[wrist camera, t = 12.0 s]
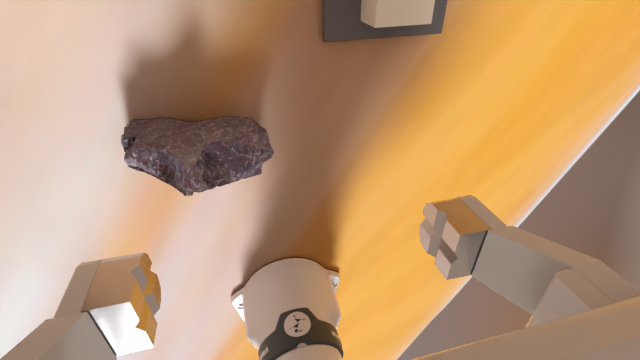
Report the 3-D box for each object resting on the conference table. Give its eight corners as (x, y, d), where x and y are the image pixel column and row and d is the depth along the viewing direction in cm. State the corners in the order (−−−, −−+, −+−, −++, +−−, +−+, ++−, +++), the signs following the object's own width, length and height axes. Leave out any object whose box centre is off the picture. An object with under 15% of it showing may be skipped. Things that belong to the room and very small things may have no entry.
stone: (283, 163, 32) (103, 155, 27) (273, 211, 36) (112, 212, 31) (267, 114, 40) (125, 100, 35) (260, 157, 44) (130, 150, 38)
